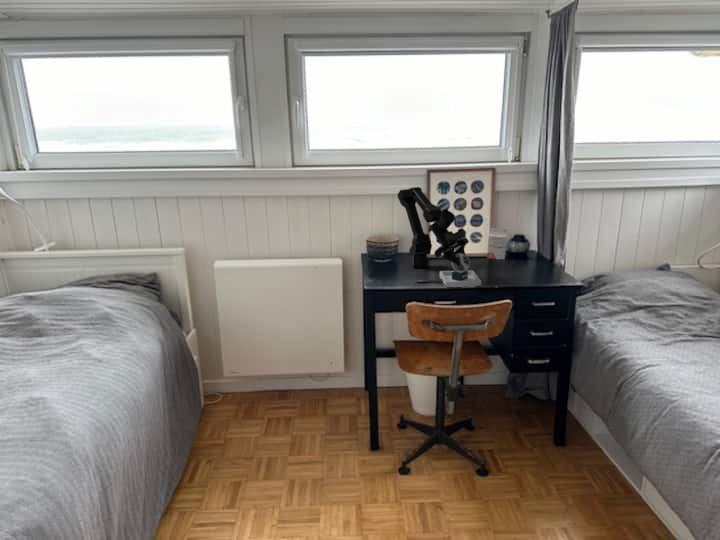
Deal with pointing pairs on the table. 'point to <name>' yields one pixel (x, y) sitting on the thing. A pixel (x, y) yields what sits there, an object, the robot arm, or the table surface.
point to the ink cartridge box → (497, 243)
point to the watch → (458, 273)
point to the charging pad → (448, 281)
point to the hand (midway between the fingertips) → (463, 263)
